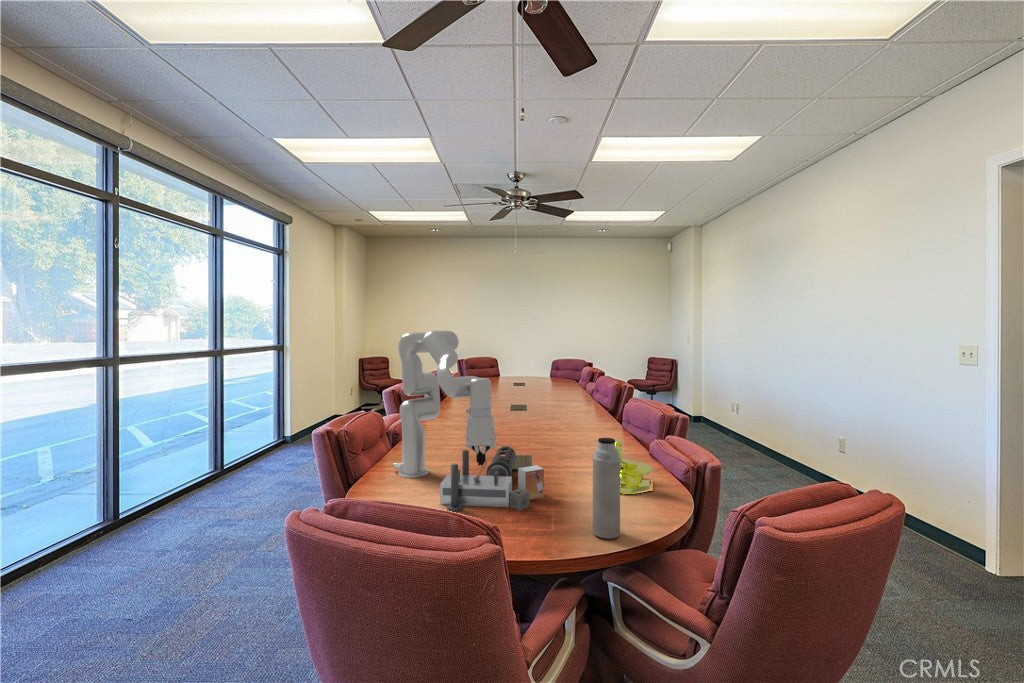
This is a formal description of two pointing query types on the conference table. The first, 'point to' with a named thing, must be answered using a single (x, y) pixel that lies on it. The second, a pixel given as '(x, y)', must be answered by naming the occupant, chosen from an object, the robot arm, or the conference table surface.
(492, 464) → the muzzle brake
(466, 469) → the post far
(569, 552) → the conference table surface
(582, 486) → the conference table surface
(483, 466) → the paddle
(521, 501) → the dice cube
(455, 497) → the post near
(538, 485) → the small box
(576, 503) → the conference table surface
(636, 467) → the yellow-green lump
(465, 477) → the breaker panel
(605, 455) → the thermos bottle
